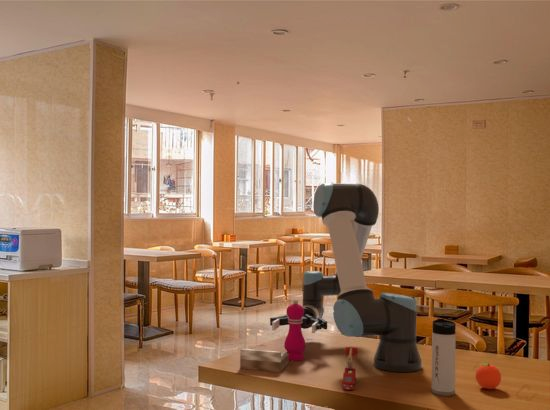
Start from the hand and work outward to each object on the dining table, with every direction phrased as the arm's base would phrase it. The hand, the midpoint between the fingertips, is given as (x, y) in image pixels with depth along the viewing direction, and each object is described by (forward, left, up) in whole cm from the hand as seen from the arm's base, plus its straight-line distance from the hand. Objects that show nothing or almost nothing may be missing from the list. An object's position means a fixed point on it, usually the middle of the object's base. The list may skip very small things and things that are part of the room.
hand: (292, 327), depth 196 cm
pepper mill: (0, -3, -11) cm, 12 cm away
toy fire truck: (-22, +20, -11) cm, 32 cm away
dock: (+7, +9, -11) cm, 16 cm away
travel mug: (-48, +20, -11) cm, 53 cm away
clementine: (-60, +12, -11) cm, 62 cm away
